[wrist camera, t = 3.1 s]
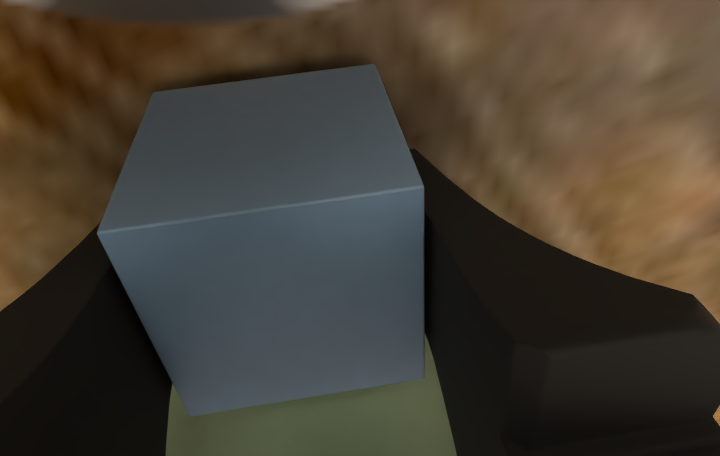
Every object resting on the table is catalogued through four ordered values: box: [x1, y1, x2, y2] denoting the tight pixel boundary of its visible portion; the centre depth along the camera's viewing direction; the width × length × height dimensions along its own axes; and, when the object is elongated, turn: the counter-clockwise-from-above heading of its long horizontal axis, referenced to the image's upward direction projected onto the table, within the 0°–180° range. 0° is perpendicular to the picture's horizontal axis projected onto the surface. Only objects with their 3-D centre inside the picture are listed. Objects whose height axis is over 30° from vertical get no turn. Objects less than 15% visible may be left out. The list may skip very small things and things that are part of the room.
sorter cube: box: [97, 64, 425, 416], centre depth 11 cm, size 5×5×5 cm
